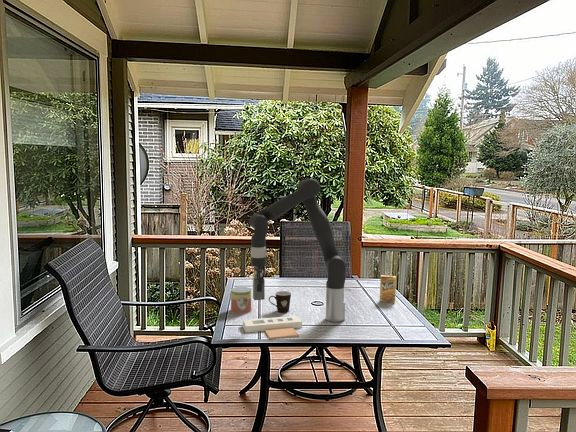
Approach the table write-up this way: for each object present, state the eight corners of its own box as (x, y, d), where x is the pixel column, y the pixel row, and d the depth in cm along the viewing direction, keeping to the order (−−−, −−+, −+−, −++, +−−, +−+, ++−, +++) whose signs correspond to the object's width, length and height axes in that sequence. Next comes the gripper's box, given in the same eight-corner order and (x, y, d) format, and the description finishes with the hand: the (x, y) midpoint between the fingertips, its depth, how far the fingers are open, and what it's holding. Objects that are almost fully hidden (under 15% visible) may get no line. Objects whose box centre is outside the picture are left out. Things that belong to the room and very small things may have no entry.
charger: (262, 297, 221) (262, 277, 220) (264, 299, 217) (264, 279, 216) (252, 298, 220) (252, 278, 219) (254, 300, 216) (254, 280, 215)
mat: (292, 328, 219) (292, 327, 219) (298, 336, 210) (298, 334, 210) (264, 331, 216) (264, 329, 216) (269, 339, 206) (269, 337, 206)
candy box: (379, 301, 265) (380, 276, 264) (380, 299, 269) (381, 274, 268) (394, 303, 263) (395, 277, 261) (395, 301, 267) (396, 275, 265)
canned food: (232, 314, 239) (232, 293, 238) (229, 308, 250) (229, 287, 249) (253, 313, 242) (253, 291, 241) (249, 306, 253) (249, 286, 252)
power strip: (296, 321, 230) (296, 315, 230) (302, 327, 222) (302, 321, 221) (242, 325, 223) (242, 319, 223) (246, 332, 214) (245, 326, 214)
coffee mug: (292, 309, 249) (292, 291, 248) (288, 314, 241) (288, 296, 240) (272, 307, 253) (272, 290, 251) (268, 312, 244) (268, 294, 243)
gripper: (269, 258, 211) (269, 293, 212) (263, 252, 224) (263, 286, 226) (253, 259, 209) (253, 294, 210) (248, 253, 222) (248, 287, 224)
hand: (258, 290), depth 218 cm, fingers closed on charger, 4 cm apart
